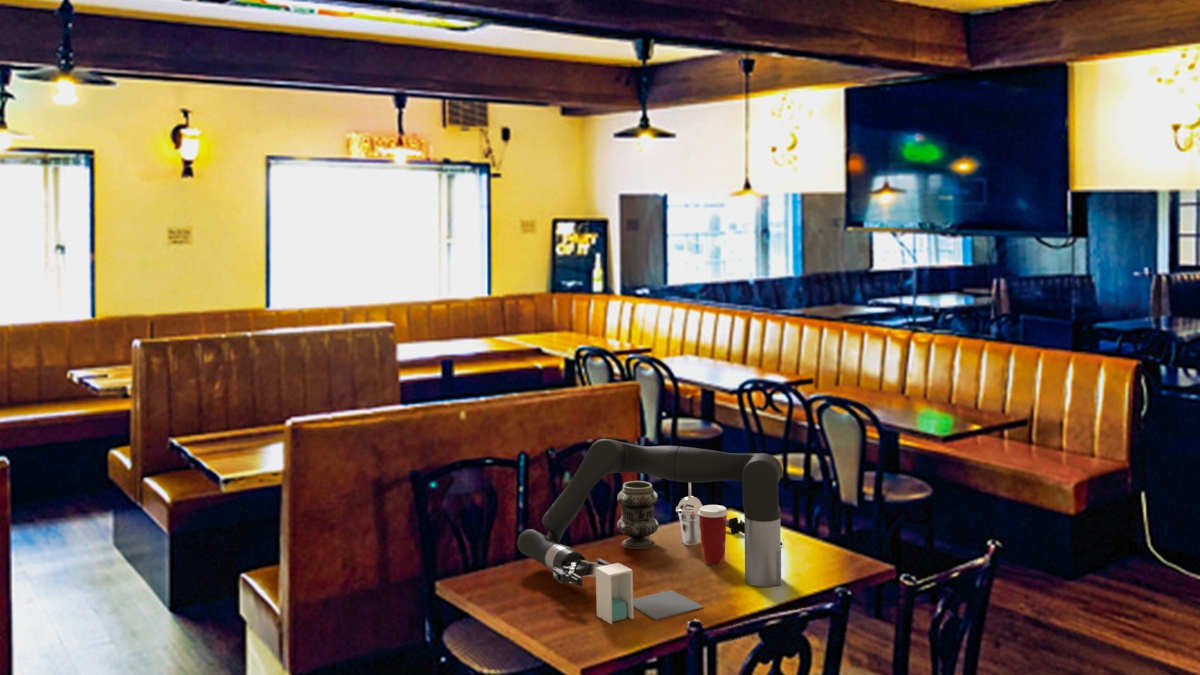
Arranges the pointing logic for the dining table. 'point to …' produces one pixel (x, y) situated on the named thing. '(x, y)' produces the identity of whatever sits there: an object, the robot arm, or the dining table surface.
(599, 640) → the dining table surface
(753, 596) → the dining table surface
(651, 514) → the apothecary jar
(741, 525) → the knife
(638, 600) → the mat
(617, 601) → the block
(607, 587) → the cream rectangular box
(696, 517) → the cup with straw
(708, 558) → the coffee cup
